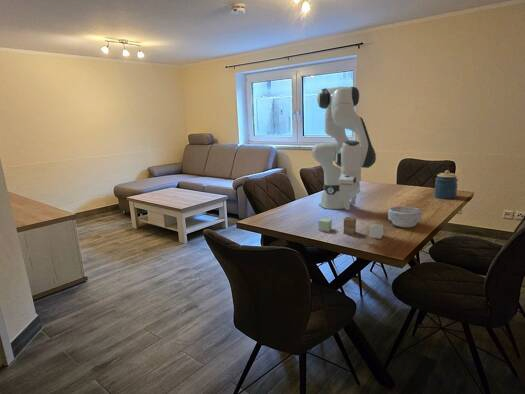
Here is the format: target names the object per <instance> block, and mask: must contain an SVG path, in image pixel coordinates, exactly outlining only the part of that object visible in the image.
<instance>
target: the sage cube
mask: <svg viewBox="0 0 525 394" xmlns="http://www.w3.org/2000/svg"><path fill="white" fill-rule="evenodd" d="M332 225H333V219H331V218H327V217H326V218H325V217H322V218H320V219H319V220H318V231H320V232H326V233H328V232H330V231H331V230H332V229H333V226H332Z"/></svg>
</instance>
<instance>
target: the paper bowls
mask: <svg viewBox="0 0 525 394" xmlns="http://www.w3.org/2000/svg"><path fill="white" fill-rule="evenodd" d="M422 214H423V212H422V209H420V208H417V207H413V206H403V205H402V206H392V207H389V208H388V212H387V218H388V219H387V220H389V221H391V223H392V224H393V225H394V226H396V227H398V228H412V227H415V226H416V225H417V223H419V222H422Z"/></svg>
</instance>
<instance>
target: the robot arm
mask: <svg viewBox="0 0 525 394" xmlns="http://www.w3.org/2000/svg"><path fill="white" fill-rule="evenodd" d="M360 97H361V95H360V91H359V88H357V87H356V86H355V87H354V86H350V87H349V86H337V87H336V86H335V87H328V88H326V87H325V88H322V89H320V90H319V91H318V94H317V97H316V102H317V105H318V107H319V108H321V109H324V110H325V113H324V114H325V115H324V116H325V117H324V131H325V134H327V136H329V137H331V138H333V139H335V141H333V142H332V141H331V142H320V143H316V144H314V146H313V147H312V149H311V155H312V157H313V159H314V160H315V161H317V163H318V164H320V166H321V167H322V170H323V175H324V176H323V177H324V183H323V191H321V193H320V195H321V197H320V202H319V203H318V206H320V207H322V209H329V210H341V209H345V210H350V208H351V205H352V206H355V205H356V199H357V195H358V194H360V192H361V190H360V188H361V187H360V186H361V185H360V182H361V181H362V168H363V169H365V168H366V169H369V168H371V167H372V166H373V165H374V164H375V163H376V160H377V154H376V151H375V149H374V146H373V145H372V142H371V139H370V136H369V134H368V129H367V126H366V124H365V121H364V119H363V118H362V117H361V116H359V115H358V113H357V112H356V110H355V107H356V106H357V105H358V104H359V102H360ZM346 130H350V131H352V132H354V133H355V134H356V135H357V137H358V140H359V141H357V140H350V139H349V138H348V136H347V133H346ZM333 162H335V164H336V165H334V163H333ZM359 191H360V192H359Z"/></svg>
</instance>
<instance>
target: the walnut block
mask: <svg viewBox="0 0 525 394" xmlns="http://www.w3.org/2000/svg"><path fill="white" fill-rule="evenodd" d="M356 228H357V217H352V216H346V217H345V218H344V219H343V235H344V234H345V235H351V236H354V235H355V234H356V232H357V230H356Z"/></svg>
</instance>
